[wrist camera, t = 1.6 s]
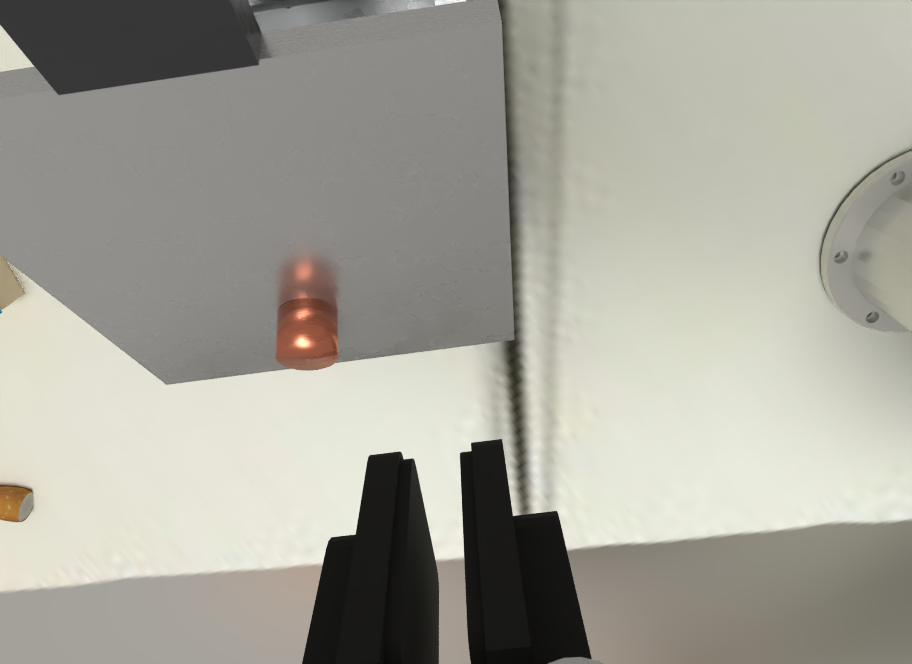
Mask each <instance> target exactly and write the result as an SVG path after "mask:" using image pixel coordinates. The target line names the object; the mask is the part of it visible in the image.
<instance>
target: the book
mask: <svg viewBox="0 0 912 664" xmlns="http://www.w3.org/2000/svg"><path fill="white" fill-rule="evenodd" d="M24 294H25V292H24V290H23V288H22V287H21V285H20V284H19V282H18V280H17V279H16V277H15V275H14V274H13V272H12V270H11V269H10V267H9V266H8V264H7V262H6V261H5V259H4V258H3V257H2V256H1V255H0V314H1V313H2V311H1V310H2V309H3V308H5V307H6V306H8V305H9V304H11V303H12V302H13V301H15V300H16V299H18V298H19V297H21V296H22V295H24Z"/></svg>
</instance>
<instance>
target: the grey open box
mask: <svg viewBox="0 0 912 664" xmlns="http://www.w3.org/2000/svg"><path fill="white" fill-rule="evenodd" d="M463 1H466V0H248V2H249V4H250V6H251V9H252V11H253V13H254V16H255V18H256V21H257V23H258V25H259V28H260V30H261V32H266V31H273V30H279V29H286V28H292V27H299V26H305V25H312V24H319V23H325V22H332V21H338V20H345V19H351V18H358V17H364V16H371V15H378V14H384V13H391V12H397V11H404V10H410V9H417V8H423V7H430V6H436V5H443V4H450V3H456V2H463Z"/></svg>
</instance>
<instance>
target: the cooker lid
mask: <svg viewBox="0 0 912 664" xmlns="http://www.w3.org/2000/svg"><path fill="white" fill-rule="evenodd" d="M0 25H1V26H2V27H3V28H4V30H5V31H6V32H7V33H8V35H9V36H10V37H11V38H12V39H13V41H14V42H15V43H16V44H17V45H18V47H19V48H20V49H21V50H22V52H23V53H24V54H25V55H26V56H27V58H28V59H29V60H30V61H31V63H32V64H33V65H34V66H35V67H30V68H24V69H17V70H10V71H4V72H0V255H1V256H2V257H3V258H4V259H6V260H7V261H8V262H10V263H11V264H12V265H13V266H15V267H16V268H17V269H19V270H20V271H21V272H22V273H24V274H25V275H26V276H28V277H29V278H30V279H31V280H33V281H34V282H35V283H37V284H38V285H39V286H40V287H42V288H43V289H44V290H46V291H47V292H48V293H49V294H51V295H52V296H53V297H55V298H56V299H57V300H58V301H60V302H61V303H62V304H64V305H65V306H66V307H67V308H69V309H70V310H71V311H73V312H74V313H75V314H76V315H78V316H79V317H80V318H82V319H83V320H84V321H85V322H87V323H88V324H89V325H91V326H92V327H93V328H94V329H96V330H97V331H98V332H100V333H101V334H102V335H103V336H105V337H106V338H107V339H108V340H110V341H111V342H112V343H114V344H115V345H116V346H117V347H119V348H120V349H121V350H123V351H124V352H125V353H126V354H128V355H129V356H130V357H132V358H133V359H134V360H135V361H137V362H138V363H139V364H141V365H142V366H143V367H144V368H146V369H147V370H148V371H150V372H151V373H152V374H153V375H155V376H156V377H157V378H159V379H160V380H161V381H162V382H164V383H165V384H166V385H168V384H176V383H184V382H191V381H199V380H207V379H214V378H222V377H230V376H238V375H245V374H253V373H261V372H268V371H276V370H284V369H296V370H318V369H323V368H326V367H329V366H331V365H333V364H334V363H338V362H346V361H353V360H361V359H369V358H377V357H384V356H392V355H400V354H408V353H415V352H423V351H431V350H438V349H446V348H454V347H462V346H469V345H477V344H485V343H492V342H500V341H508V340H514V321H513V296H512V270H511V245H510V219H509V194H508V168H507V143H506V117H505V92H504V66H503V41H502V21H501V16H500V11H499V6H498V1H497V0H469V1H463V2H456V3H450V4H443V5H436V6H430V7H423V8H417V9H410V10H404V11H397V12H391V13H384V14H378V15H371V16H364V17H358V18H351V19H345V20H338V21H332V22H325V23H319V24H312V25H305V26H299V27H292V28H286V29H279V30H273V31H266V32H261V30H260V28H259V25H258V23H257V21H256V18H255V16H254V13H253V11H252V9H251V6H250V4H249V2H248V0H0Z"/></svg>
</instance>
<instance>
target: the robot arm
mask: <svg viewBox="0 0 912 664" xmlns="http://www.w3.org/2000/svg"><path fill="white" fill-rule="evenodd" d="M821 276H822V280H823V284H824V288H825V290H826V292H827V294H828V296H829V298H830V299H831V301H832V302H833V304H834V305H835V306H836V307H837V308H838V309H839V310H840V311H841V312H842V313H844V314H845V315H846V316H848V317H849V318H850V319H852V320H853V321H854V322H856V323H858V324H860V325H862V326H864V327H867V328H870V329H875V330H879V331H883V332H906V331H912V151H909V152H907V153H905V154H903V155H901V156H899V157H897V158H895V159H893V160H891V161H889V162H887V163H886V164H884V165H883V166H882V167H880V168H879V169H877V170H876V171H874V172H873V173H871V174H870V175H869V176H868V177H867V178H866V179H865V180H864V181H863V182H861V183H860V184H859V185H858V186H857V187H856V188H855V189H854V190H853V191H852V193H851V194H850V195H849V196H848V198H847V199H846V200H845V201H844V203H843V204H842V205H841V206H840V208H839V210H838V212H837V213H836V215H835V217H834V218H833V220H832V222H831V224H830V226H829V229H828V231H827V234H826V237H825V239H824V243H823V248H822V254H821ZM471 448H472V451H470V452H462V453H460V465H461V488H462V512H463V535H464V558H465V581H466V604H467V628H468V642H469V650H470V651H469V652H470V660H471V664H603V663H601V662H599V661H596V660H592V659H591V654H590V650H589V646H588V641H587V637H586V633H585V628H584V624H583V620H582V616H581V611H580V606H579V602H578V598H577V593H576V589H575V585H574V581H573V576H572V572H571V567H570V563H569V559H568V554H567V550H566V546H565V541H564V537H563V533H562V528H561V524H560V520H559V516H558V513H557V511H553V512H544V513H536V514H527V515H519V516H513V514H512V507H511V500H510V493H509V486H508V479H507V471H506V464H505V457H504V450H503V443H502V439H499V440H491V441H482V442H474V443H471ZM438 584H439V582H438V573H437V566H436V561H435V556H434V551H433V547H432V542H431V537H430V532H429V527H428V523H427V518H426V513H425V508H424V503H423V498H422V494H421V489H420V484H419V479H418V474H417V470H416V465H415V461H414V459H405V460H404V459H403V456H402V453H401V452H393V453H385V454H377V455H370V456H369V457H368V461H367V468H366V474H365V480H364V487H363V493H362V499H361V505H360V512H359V518H358V524H357V530H356V535H349V536H340V537H332V538H331V539H330V540H329V542H328V545H327V548H326V552H325V557H324V562H323V567H322V572H321V577H320V581H319V586H318V591H317V595H316V600H315V605H314V610H313V615H312V620H311V624H310V629H309V634H308V638H307V643H306V648H305V653H304V657H303V662H302V664H439V585H438Z"/></svg>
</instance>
